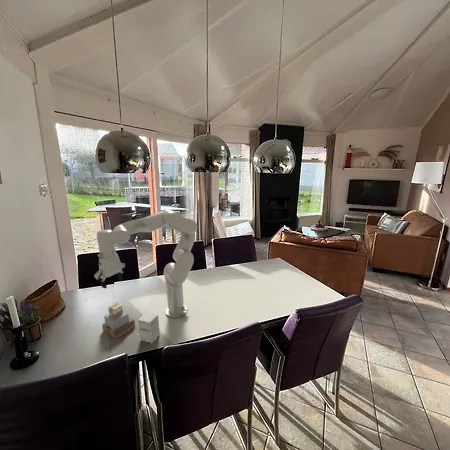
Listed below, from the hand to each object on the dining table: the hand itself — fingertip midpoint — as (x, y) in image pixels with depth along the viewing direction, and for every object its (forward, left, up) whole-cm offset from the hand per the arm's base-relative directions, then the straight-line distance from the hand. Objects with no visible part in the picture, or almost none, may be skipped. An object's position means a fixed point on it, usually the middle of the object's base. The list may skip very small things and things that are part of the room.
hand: (112, 283), depth 137 cm
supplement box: (-21, -4, -28) cm, 35 cm away
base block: (0, 0, -28) cm, 28 cm away
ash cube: (+1, 0, -18) cm, 18 cm away
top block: (0, +1, -23) cm, 23 cm away
